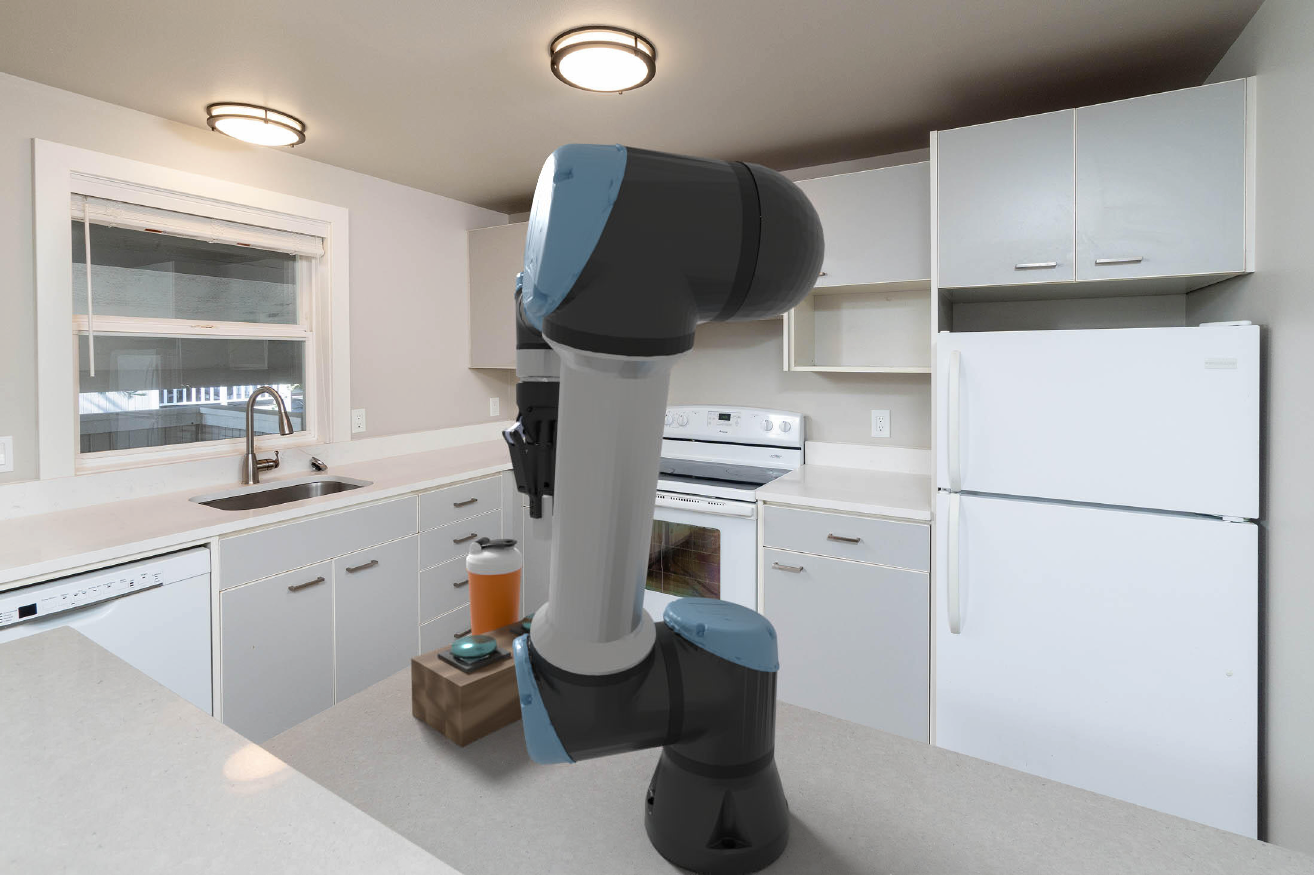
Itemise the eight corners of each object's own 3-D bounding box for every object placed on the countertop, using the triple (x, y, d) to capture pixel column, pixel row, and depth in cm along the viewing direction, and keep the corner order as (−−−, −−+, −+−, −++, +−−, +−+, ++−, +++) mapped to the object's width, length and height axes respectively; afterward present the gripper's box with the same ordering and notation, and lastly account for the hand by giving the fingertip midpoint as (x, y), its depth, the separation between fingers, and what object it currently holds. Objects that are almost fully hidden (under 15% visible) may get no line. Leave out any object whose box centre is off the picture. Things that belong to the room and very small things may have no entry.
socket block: (598, 680, 99) (598, 626, 99) (461, 747, 81) (460, 681, 80) (547, 658, 107) (547, 607, 106) (412, 714, 89) (411, 654, 88)
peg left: (505, 704, 90) (505, 643, 89) (468, 721, 85) (467, 657, 84) (480, 690, 94) (480, 631, 93) (443, 706, 89) (442, 644, 88)
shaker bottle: (516, 672, 102) (515, 548, 100) (460, 670, 102) (458, 547, 100) (528, 648, 111) (527, 534, 109) (476, 647, 111) (475, 533, 109)
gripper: (559, 380, 102) (559, 527, 104) (489, 379, 92) (490, 542, 94) (592, 380, 97) (591, 535, 99) (522, 379, 87) (523, 551, 89)
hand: (542, 538), depth 96 cm, fingers closed
